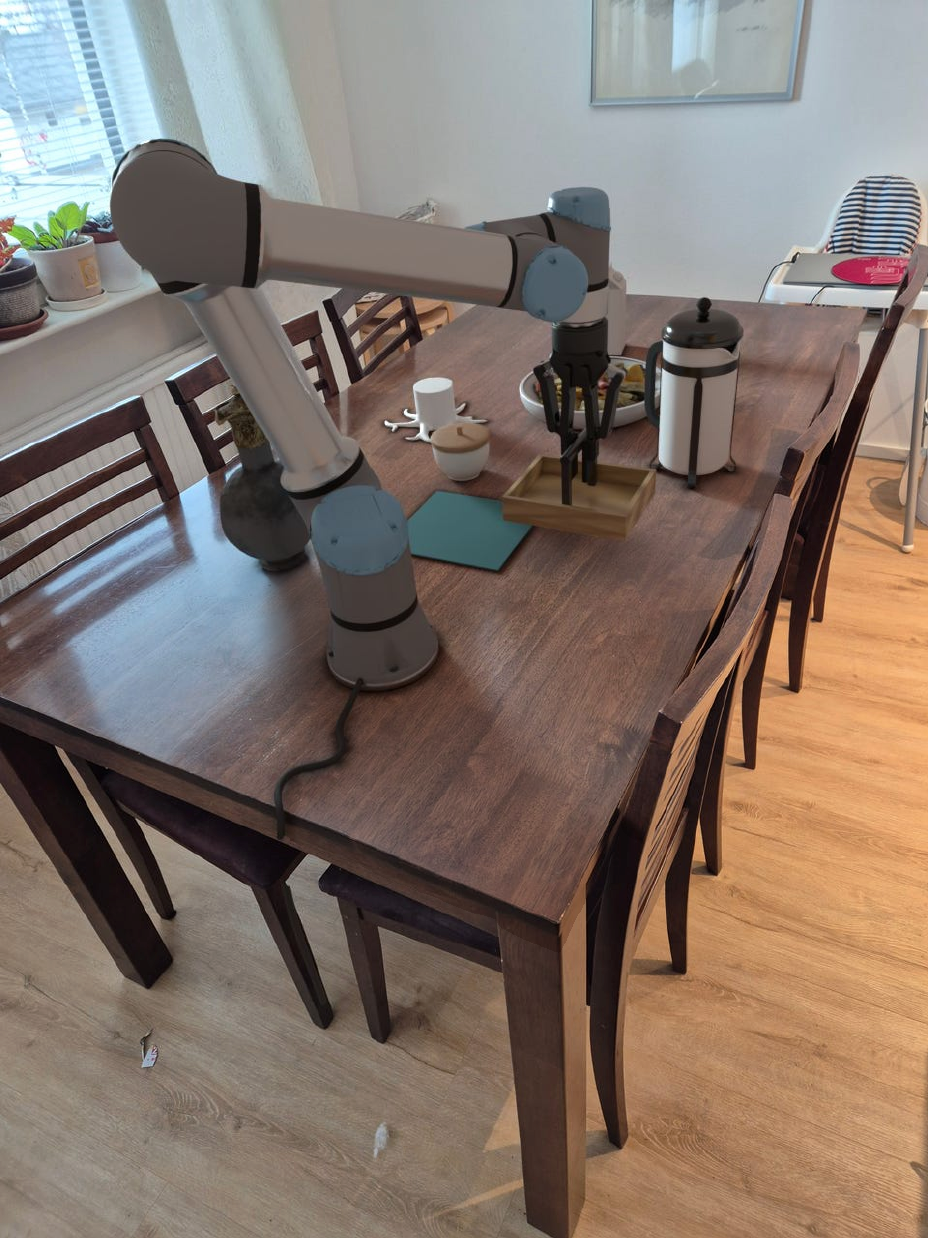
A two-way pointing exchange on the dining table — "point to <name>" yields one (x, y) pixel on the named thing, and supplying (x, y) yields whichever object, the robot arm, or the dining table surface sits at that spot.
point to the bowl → (628, 401)
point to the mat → (464, 531)
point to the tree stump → (433, 408)
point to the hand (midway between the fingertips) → (579, 477)
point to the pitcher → (258, 496)
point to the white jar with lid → (461, 450)
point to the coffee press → (695, 390)
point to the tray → (580, 495)
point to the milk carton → (616, 312)
